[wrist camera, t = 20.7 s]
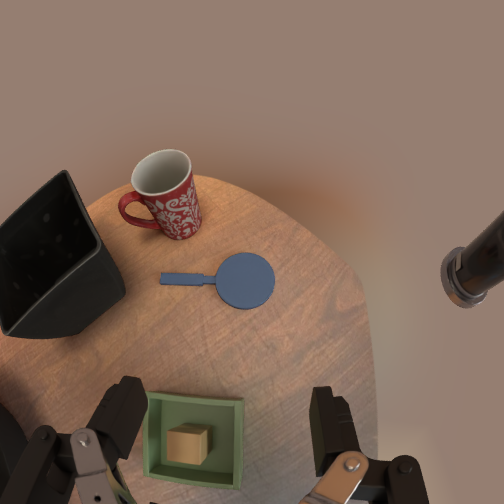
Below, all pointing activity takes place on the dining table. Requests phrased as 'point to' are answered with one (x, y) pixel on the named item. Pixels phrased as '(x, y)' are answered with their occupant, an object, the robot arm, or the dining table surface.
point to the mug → (165, 194)
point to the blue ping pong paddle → (234, 280)
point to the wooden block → (189, 443)
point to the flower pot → (54, 266)
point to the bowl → (9, 446)
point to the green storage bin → (195, 412)
